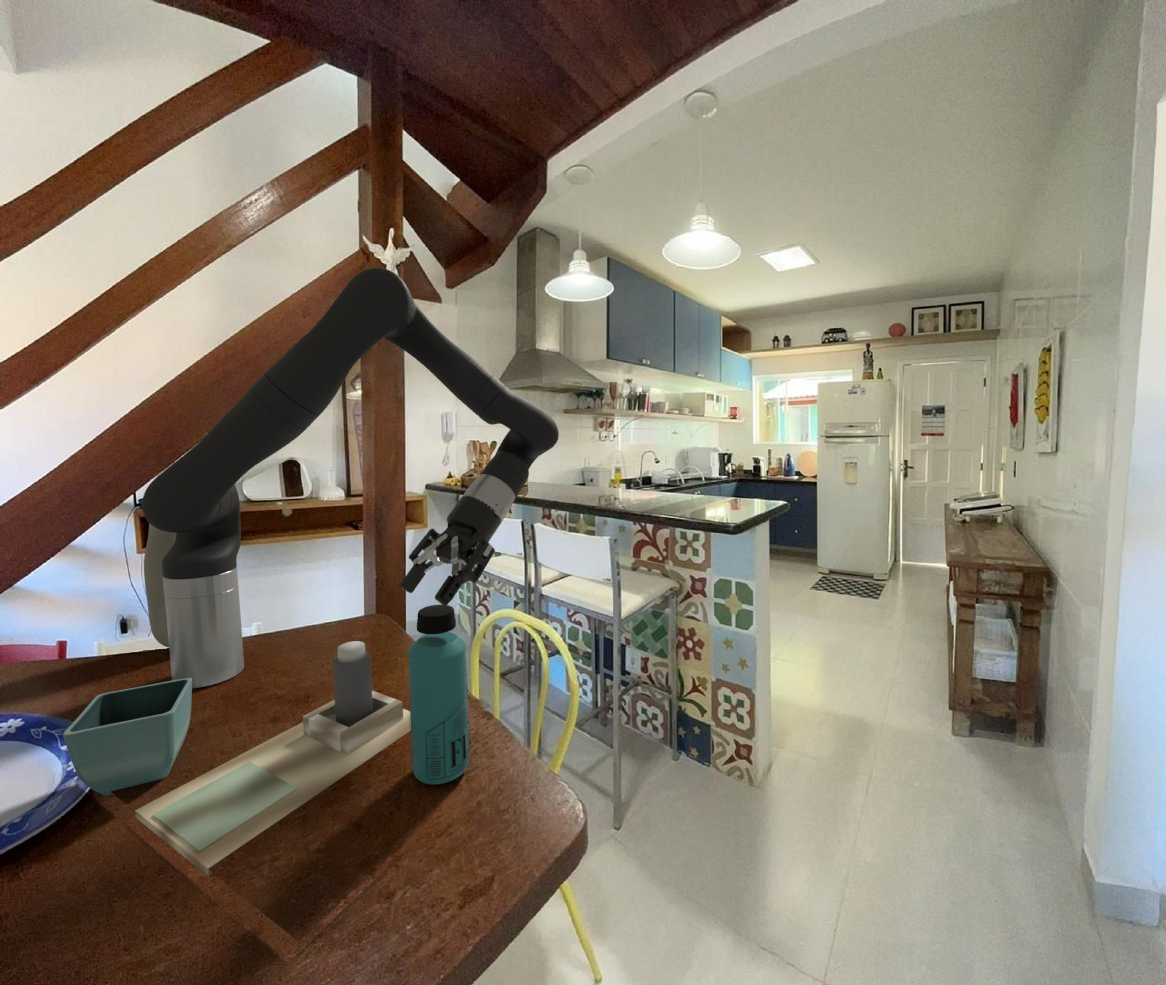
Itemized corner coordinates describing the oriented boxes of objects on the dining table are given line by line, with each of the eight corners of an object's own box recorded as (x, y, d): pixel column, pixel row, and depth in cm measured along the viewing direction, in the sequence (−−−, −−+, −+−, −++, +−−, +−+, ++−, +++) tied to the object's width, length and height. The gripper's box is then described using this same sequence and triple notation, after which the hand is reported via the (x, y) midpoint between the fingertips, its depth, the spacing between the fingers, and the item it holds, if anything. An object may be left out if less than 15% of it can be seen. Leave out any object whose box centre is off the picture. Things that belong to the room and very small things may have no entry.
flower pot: (69, 817, 49) (59, 734, 48) (105, 765, 57) (97, 693, 56) (179, 789, 53) (172, 712, 52) (199, 744, 61) (193, 676, 60)
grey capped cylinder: (328, 730, 62) (324, 649, 61) (358, 713, 66) (355, 636, 65) (351, 740, 60) (347, 656, 59) (380, 722, 64) (377, 643, 63)
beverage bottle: (455, 803, 51) (451, 622, 49) (398, 793, 53) (392, 616, 50) (480, 763, 58) (477, 601, 55) (429, 755, 59) (424, 596, 57)
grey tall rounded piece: (146, 646, 88) (132, 494, 85) (215, 630, 96) (204, 490, 93) (157, 663, 82) (141, 499, 79) (229, 644, 90) (218, 494, 86)
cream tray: (135, 817, 49) (132, 787, 49) (359, 697, 72) (358, 676, 71) (208, 876, 42) (205, 842, 42) (428, 723, 65) (428, 700, 65)
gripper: (440, 490, 80) (377, 573, 72) (500, 497, 71) (435, 592, 63) (467, 518, 84) (410, 598, 77) (525, 528, 76) (468, 620, 68)
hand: (422, 595), depth 70 cm, fingers open, 8 cm apart
